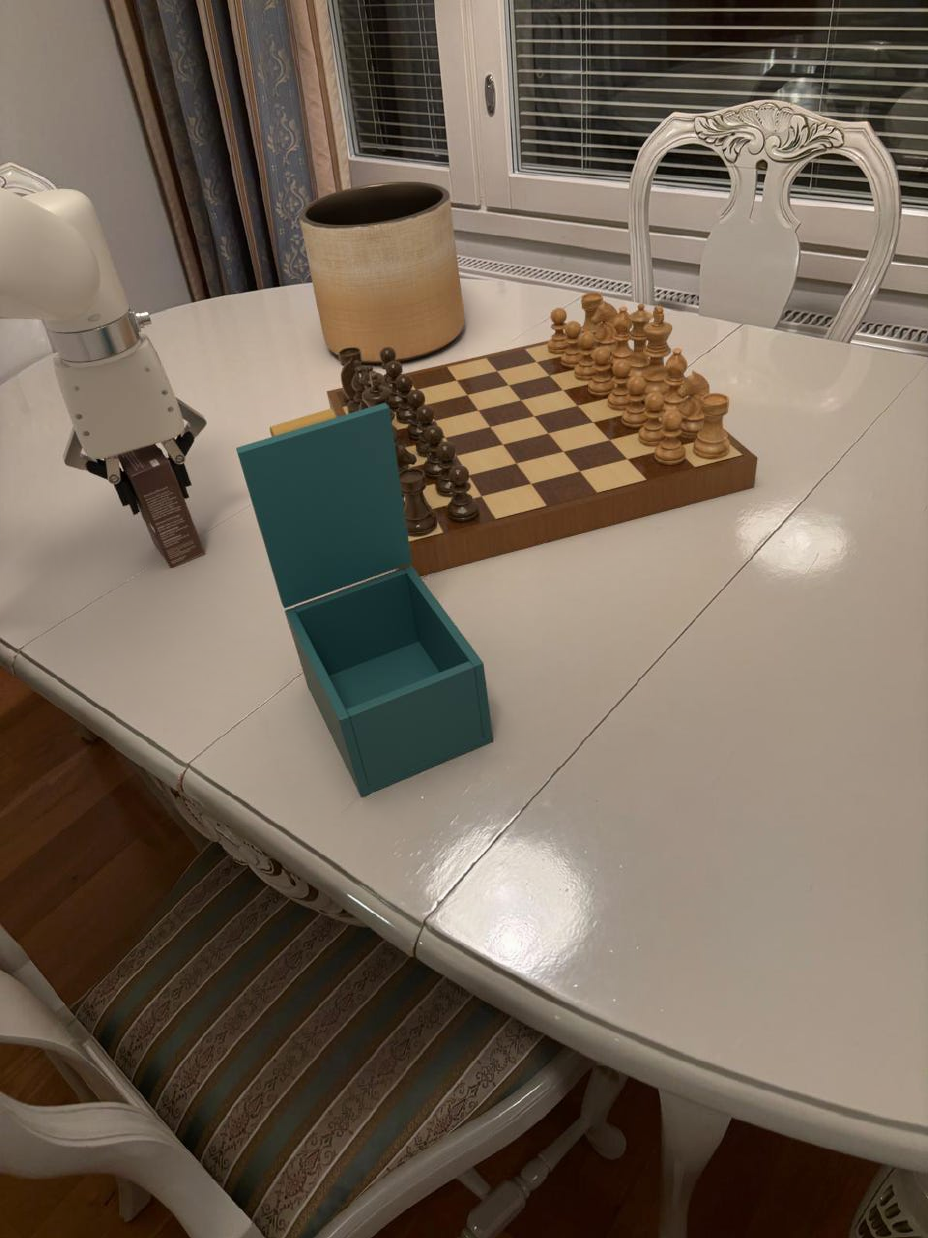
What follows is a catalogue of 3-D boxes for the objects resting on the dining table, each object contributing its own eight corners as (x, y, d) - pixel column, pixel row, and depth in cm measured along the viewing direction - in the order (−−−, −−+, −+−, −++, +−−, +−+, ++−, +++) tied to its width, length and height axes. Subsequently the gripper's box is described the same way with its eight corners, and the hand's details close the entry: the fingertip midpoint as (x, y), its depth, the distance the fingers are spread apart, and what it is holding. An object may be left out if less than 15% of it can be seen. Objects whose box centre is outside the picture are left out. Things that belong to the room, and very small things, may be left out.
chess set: (604, 352, 126) (604, 245, 117) (754, 487, 96) (769, 358, 87) (332, 416, 120) (308, 309, 111) (400, 581, 90) (376, 453, 81)
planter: (350, 312, 149) (325, 184, 136) (477, 308, 144) (464, 175, 131) (307, 369, 133) (274, 230, 120) (449, 367, 128) (431, 222, 115)
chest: (493, 741, 72) (483, 662, 66) (361, 797, 69) (339, 720, 63) (424, 640, 83) (411, 564, 77) (307, 685, 80) (284, 610, 74)
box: (151, 546, 100) (114, 452, 92) (189, 531, 102) (156, 437, 94) (167, 570, 96) (130, 474, 88) (206, 555, 97) (173, 459, 90)
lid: (389, 406, 66) (365, 377, 69) (238, 452, 63) (221, 420, 66) (412, 563, 76) (390, 531, 80) (284, 608, 73) (267, 574, 77)
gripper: (177, 301, 88) (228, 462, 99) (0, 346, 83) (75, 509, 95) (192, 325, 82) (244, 492, 94) (4, 374, 78) (83, 543, 90)
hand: (159, 499), depth 94 cm, fingers closed on box, 4 cm apart
